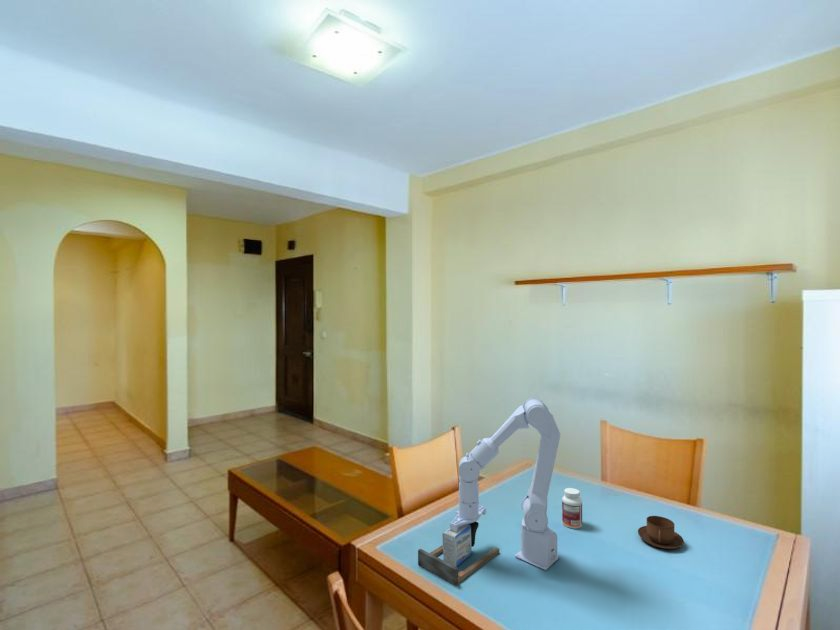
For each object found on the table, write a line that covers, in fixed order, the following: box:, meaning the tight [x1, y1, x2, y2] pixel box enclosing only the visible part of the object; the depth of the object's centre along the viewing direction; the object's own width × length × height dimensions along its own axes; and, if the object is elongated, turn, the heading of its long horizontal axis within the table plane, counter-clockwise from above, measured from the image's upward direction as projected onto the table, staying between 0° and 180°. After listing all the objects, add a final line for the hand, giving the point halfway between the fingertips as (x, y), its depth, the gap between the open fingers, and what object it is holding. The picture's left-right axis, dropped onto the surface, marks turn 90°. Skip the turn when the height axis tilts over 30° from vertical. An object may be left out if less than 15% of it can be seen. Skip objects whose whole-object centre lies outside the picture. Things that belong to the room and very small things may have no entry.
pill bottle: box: [561, 487, 583, 530], centre depth 140 cm, size 6×6×11 cm
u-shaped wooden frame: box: [417, 544, 500, 586], centre depth 121 cm, size 13×20×4 cm, turn 137°
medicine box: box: [441, 524, 473, 568], centre depth 121 cm, size 8×4×9 cm, turn 140°
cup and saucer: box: [637, 515, 684, 550], centre depth 130 cm, size 12×12×6 cm
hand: (468, 546), depth 124 cm, fingers closed, pressing on medicine box
